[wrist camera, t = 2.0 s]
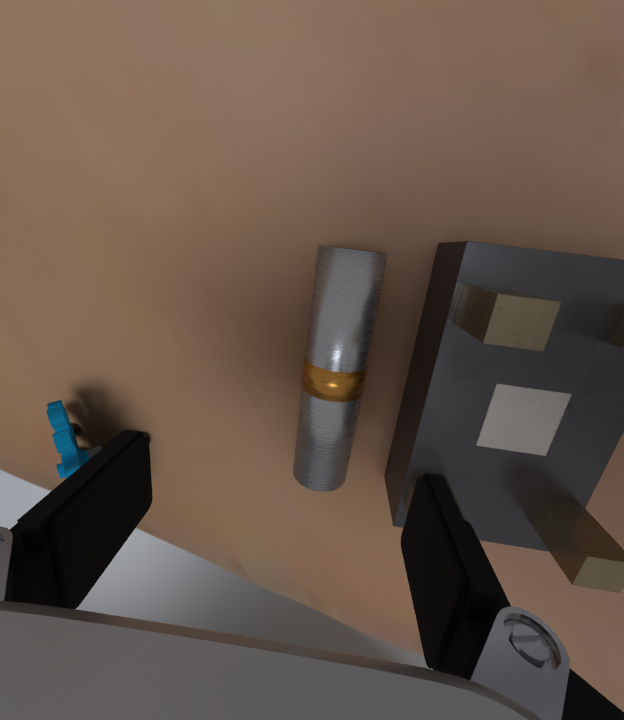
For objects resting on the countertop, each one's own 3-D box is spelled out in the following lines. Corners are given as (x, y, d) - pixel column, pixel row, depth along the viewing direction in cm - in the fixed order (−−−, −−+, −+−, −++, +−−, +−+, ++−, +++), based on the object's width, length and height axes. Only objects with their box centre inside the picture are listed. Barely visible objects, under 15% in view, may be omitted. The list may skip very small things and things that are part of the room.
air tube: (306, 243, 20) (342, 248, 16) (360, 250, 22) (402, 255, 18) (283, 461, 25) (307, 498, 22) (329, 451, 27) (357, 483, 24)
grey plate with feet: (619, 265, 20) (824, 276, 11) (522, 498, 26) (609, 619, 17) (438, 243, 20) (506, 238, 12) (384, 476, 26) (403, 584, 18)
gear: (31, 383, 25) (40, 460, 18) (118, 363, 28) (153, 421, 21) (73, 486, 30) (92, 577, 23) (142, 458, 33) (177, 530, 26)
